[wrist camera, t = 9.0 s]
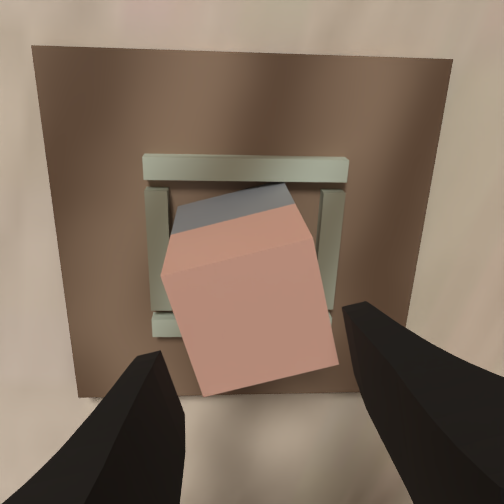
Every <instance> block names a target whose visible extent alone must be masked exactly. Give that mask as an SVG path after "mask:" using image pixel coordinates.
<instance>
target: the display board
mask: <svg viewBox="0 0 504 504" xmlns="http://www.w3.org/2000/svg"><path fill="white" fill-rule="evenodd" d="M31 48H32V55H33V62H34V70H35V77H36V85H37V92H38V100H39V107H40V115H41V122H42V129H43V137H44V144H45V152H46V159H47V167H48V174H49V182H50V189H51V196H52V204H53V211H54V219H55V226H56V234H57V241H58V249H59V256H60V263H61V271H62V278H63V286H64V293H65V301H66V308H67V316H68V323H69V330H70V338H71V345H72V353H73V360H74V368H75V375H76V383H77V390H78V397H79V398H85V397H105V396H106V394H107V393H108V392H109V391H110V389H111V388H112V387H113V385H114V384H115V383H116V382H117V380H118V379H119V378H120V376H121V375H122V374H123V372H124V371H125V370H126V369H127V367H128V366H129V365H130V363H131V362H132V361H133V360H134V359H135V358H136V356H139V355H143V354H147V353H151V352H155V351H159V350H161V352H162V355H163V357H164V360H165V363H166V365H167V368H168V371H169V373H170V376H171V379H172V381H173V384H174V387H175V389H176V392H177V395H178V396H183V395H202V392H201V389H200V386H199V384H198V381H197V378H196V375H195V372H194V369H193V367H192V364H191V361H190V358H189V355H188V353H187V350H186V347H185V344H184V341H183V338H182V336H181V333H180V330H179V327H178V324H177V322H176V319H175V316H174V313H173V310H172V307H171V305H170V302H169V299H168V296H167V293H166V291H165V288H164V285H163V282H162V279H161V272H162V268H163V264H164V260H165V256H166V252H167V248H168V244H169V240H170V236H171V232H172V228H173V224H174V220H175V216H176V211H177V207H178V206H181V205H185V204H189V203H193V202H196V201H200V200H204V199H208V198H212V197H216V196H220V195H224V194H228V193H232V192H236V191H240V190H244V189H248V188H252V187H255V186H259V185H263V184H267V183H271V182H284V183H285V185H286V187H287V189H288V191H289V193H290V194H291V196H292V198H293V200H294V202H295V204H296V206H297V208H298V210H299V212H300V214H301V216H302V218H303V220H304V222H305V223H306V225H307V227H308V229H309V231H310V233H311V235H312V237H313V240H314V245H315V250H316V255H317V260H318V265H319V270H320V274H321V279H322V284H323V289H324V294H325V299H326V304H327V309H328V313H329V318H330V323H331V328H332V333H333V338H334V343H335V348H336V352H337V357H338V362H339V365H335V366H331V367H327V368H322V369H318V370H314V371H310V372H306V373H302V374H298V375H293V376H289V377H285V378H281V379H277V380H273V381H269V382H264V383H260V384H256V385H252V386H248V387H244V388H240V389H235V390H231V391H227V392H223V393H219V394H215V395H232V394H281V393H330V392H360V390H359V387H358V384H357V382H356V379H355V376H354V372H353V367H352V361H351V356H350V351H349V345H348V340H347V334H346V329H345V323H344V318H343V312H342V307H343V306H347V305H351V304H355V303H360V302H364V301H367V302H369V303H370V304H372V305H373V306H375V307H376V308H377V309H379V310H380V311H382V312H383V313H385V314H386V315H387V316H389V317H390V318H392V319H393V320H395V321H396V322H398V323H399V324H401V325H402V326H404V327H406V321H407V316H408V310H409V305H410V299H411V293H412V288H413V282H414V276H415V271H416V265H417V259H418V254H419V248H420V243H421V237H422V231H423V226H424V220H425V214H426V209H427V203H428V198H429V192H430V186H431V181H432V175H433V169H434V164H435V158H436V153H437V147H438V141H439V136H440V130H441V124H442V119H443V113H444V108H445V102H446V96H447V91H448V85H449V79H450V74H451V68H452V62H453V59H428V58H397V57H367V56H337V55H306V54H276V53H246V52H215V51H185V50H155V49H124V48H94V47H64V46H33V45H31Z"/></svg>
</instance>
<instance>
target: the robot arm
mask: <svg viewBox="0 0 504 504" xmlns="http://www.w3.org/2000/svg"><path fill="white" fill-rule="evenodd" d="M342 312H343V318H344V323H345V329H346V334H347V340H348V345H349V351H350V356H351V361H352V367H353V372H354V376H355V379H356V382H357V384H358V387H359V390H360V393H361V395H362V398H363V401H364V404H365V406H366V409H367V411H368V413H369V415H370V417H371V419H372V421H373V423H374V425H375V427H376V429H377V431H378V433H379V435H380V437H381V439H382V441H383V443H384V445H385V447H386V449H387V451H388V453H389V455H390V457H391V459H392V461H393V463H394V465H395V467H396V469H397V471H398V473H399V475H400V477H401V478H402V480H403V482H404V484H405V486H406V488H407V490H408V493H409V495H410V497H411V499H412V501H413V503H414V504H504V377H502V376H499V375H497V374H494V373H492V372H489V371H487V370H485V369H482V368H480V367H478V366H475V365H473V364H471V363H468V362H466V361H464V360H462V359H460V358H458V357H456V356H454V355H452V354H450V353H448V352H446V351H444V350H443V349H441V348H439V347H437V346H435V345H433V344H431V343H430V342H428V341H426V340H425V339H423V338H421V337H420V336H418V335H416V334H415V333H413V332H412V331H410V330H408V329H407V328H405V327H404V326H402V325H401V324H399V323H398V322H396V321H395V320H393V319H392V318H390V317H389V316H387V315H386V314H385V313H383V312H382V311H380V310H379V309H377V308H376V307H375V306H373V305H372V304H370V303H369V302H367V301H364V302H360V303H355V304H351V305H347V306H343V307H342ZM184 460H185V414H184V411H183V408H182V406H181V403H180V400H179V398H178V395H177V392H176V389H175V387H174V384H173V381H172V379H171V376H170V373H169V371H168V368H167V365H166V363H165V360H164V357H163V355H162V352H161V350H159V351H155V352H151V353H147V354H143V355H139V356H136V358H135V359H134V360H133V361H132V362H131V363H130V365H129V366H128V367H127V369H126V370H125V371H124V372H123V374H122V375H121V376H120V378H119V379H118V380H117V382H116V383H115V384H114V385H113V387H112V388H111V389H110V391H109V392H108V393H107V394H106V396H105V397H104V398H103V399H102V401H101V402H100V403H99V404H98V406H97V407H96V408H95V410H94V411H93V412H92V413H91V414H90V415H89V417H88V418H87V419H86V420H85V421H84V422H83V424H82V425H81V426H80V427H79V428H78V429H77V430H76V432H75V433H74V434H73V435H72V436H71V437H70V439H69V440H68V441H67V442H66V443H65V444H64V445H63V446H62V447H61V449H60V450H59V451H58V452H57V453H56V454H55V455H54V456H53V457H52V458H51V459H50V460H49V461H48V462H47V463H46V464H45V465H44V466H43V467H42V468H41V469H40V470H39V471H38V472H37V473H36V474H35V475H34V476H33V477H32V478H31V479H30V480H28V481H27V482H26V483H25V484H24V485H23V486H22V487H21V488H20V489H18V490H17V491H16V492H15V493H14V494H13V495H12V496H10V497H9V498H8V499H7V500H6V501H5V502H3V503H2V504H180V496H181V487H182V478H183V469H184Z"/></svg>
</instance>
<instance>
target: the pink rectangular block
mask: <svg viewBox="0 0 504 504" xmlns="http://www.w3.org/2000/svg"><path fill="white" fill-rule="evenodd" d="M161 279H162V282H163V285H164V288H165V291H166V293H167V296H168V299H169V302H170V305H171V307H172V310H173V313H174V316H175V319H176V322H177V324H178V327H179V330H180V333H181V336H182V338H183V341H184V344H185V347H186V350H187V353H188V355H189V358H190V361H191V364H192V367H193V369H194V372H195V375H196V378H197V381H198V384H199V386H200V389H201V392H202V395H203V397H207V396H211V395H215V394H219V393H223V392H227V391H231V390H235V389H240V388H244V387H248V386H252V385H256V384H260V383H264V382H269V381H273V380H277V379H281V378H285V377H289V376H293V375H298V374H302V373H306V372H310V371H314V370H318V369H322V368H327V367H331V366H335V365H339V362H338V357H337V352H336V348H335V343H334V338H333V333H332V328H331V323H330V318H329V313H328V309H327V304H326V299H325V294H324V289H323V284H322V279H321V274H320V270H319V265H318V260H317V255H316V250H315V245H314V240H313V237H312V235H311V233H310V231H309V229H308V227H307V225H306V223H305V222H304V220H303V218H302V216H301V214H300V212H299V210H298V208H297V206H296V204H295V202H294V200H293V198H292V196H291V194H290V193H289V191H288V189H287V187H286V185H285V183H284V182H271V183H267V184H263V185H259V186H255V187H252V188H248V189H244V190H240V191H236V192H232V193H228V194H224V195H220V196H216V197H212V198H208V199H204V200H200V201H196V202H193V203H189V204H185V205H181V206H178V207H177V211H176V216H175V220H174V224H173V228H172V232H171V236H170V240H169V244H168V248H167V252H166V256H165V260H164V264H163V268H162V272H161Z"/></svg>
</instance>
